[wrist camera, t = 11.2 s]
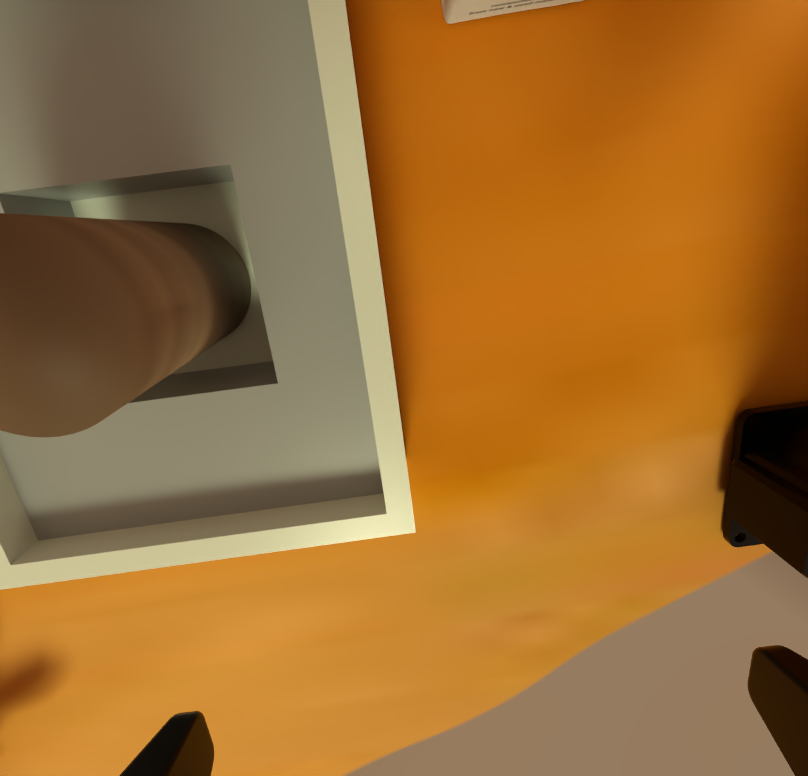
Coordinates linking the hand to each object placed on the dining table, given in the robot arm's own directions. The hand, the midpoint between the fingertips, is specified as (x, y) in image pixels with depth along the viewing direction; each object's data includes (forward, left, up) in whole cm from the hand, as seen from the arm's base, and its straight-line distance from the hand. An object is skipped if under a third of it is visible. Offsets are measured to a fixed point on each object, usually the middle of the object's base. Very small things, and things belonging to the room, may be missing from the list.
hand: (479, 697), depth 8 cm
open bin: (+7, -6, -12) cm, 15 cm away
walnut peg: (+7, -6, -11) cm, 14 cm away
